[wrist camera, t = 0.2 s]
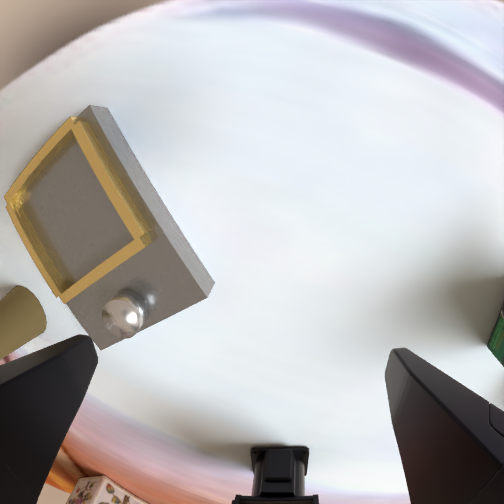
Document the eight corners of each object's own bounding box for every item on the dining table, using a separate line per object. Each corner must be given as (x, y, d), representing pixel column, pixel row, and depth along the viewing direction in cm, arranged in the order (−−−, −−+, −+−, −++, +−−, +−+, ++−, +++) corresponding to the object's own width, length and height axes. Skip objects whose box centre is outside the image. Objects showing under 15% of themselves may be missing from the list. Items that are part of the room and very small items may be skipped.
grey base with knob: (214, 282, 23) (200, 311, 19) (113, 335, 26) (90, 363, 22) (107, 108, 20) (73, 102, 16) (25, 194, 23) (-9, 204, 18)
